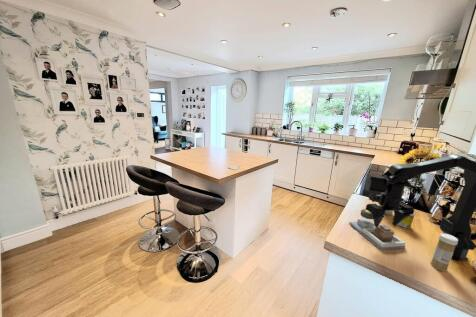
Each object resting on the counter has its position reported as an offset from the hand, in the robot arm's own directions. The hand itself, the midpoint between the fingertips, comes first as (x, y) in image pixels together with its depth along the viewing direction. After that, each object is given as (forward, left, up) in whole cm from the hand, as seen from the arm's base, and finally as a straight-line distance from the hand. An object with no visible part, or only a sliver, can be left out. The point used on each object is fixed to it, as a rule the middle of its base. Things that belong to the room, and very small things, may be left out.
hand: (385, 225), depth 85 cm
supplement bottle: (+10, -23, -8) cm, 26 cm away
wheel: (+10, 0, -1) cm, 10 cm away
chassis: (+4, 0, -8) cm, 8 cm away
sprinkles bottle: (-16, -9, -8) cm, 20 cm away
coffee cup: (+23, -25, -8) cm, 35 cm away
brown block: (0, 0, -6) cm, 6 cm away
